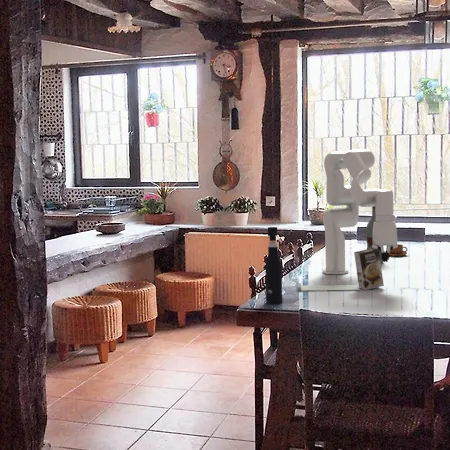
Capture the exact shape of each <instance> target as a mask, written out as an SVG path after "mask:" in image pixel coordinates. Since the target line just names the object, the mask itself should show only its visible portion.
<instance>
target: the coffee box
mask: <svg viewBox="0 0 450 450" xmlns="http://www.w3.org/2000/svg"><path fill="white" fill-rule="evenodd" d="M353 254H354V261H355V268H356V276H357V283H358V287H359V289H360V290H364V291H367V290H371V289H376V288H380V287H384V285H385V284H384V278H383V271H382V263H381V262H380V255H379V250H378V249H373V248H371V249H367V248H366V249H362V250H359V251H354V252H353Z"/></svg>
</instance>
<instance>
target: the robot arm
mask: <svg viewBox="0 0 450 450" xmlns="http://www.w3.org/2000/svg"><path fill="white" fill-rule="evenodd" d="M375 162H376V159H375V155H374V153H373V152H372V151H371V150H369V149H351V150H348V151H345V150H344V151H332V152H329V153H327V154H326V155H325V157H324V162H323V166H324V172H325V177H326V188H325V189H326V193H325V194H326V195H325V196H326V202H327V204H328V205H329V206H334V207H335V208H328V209H326V210H325V211H324V212H323V214H322V221H323V227H324V228H323V229H324V239H325V240H324V241H325V244H324V245H325V246H324V247H325V248H324V249H325V250H324V251H325V252H324V253H325V268H324V269H322V273H323V274H326V275H345V274H348V273H349V269H347V268H346V238H345V233H344V232H343V231H342V230H341V229H342V228H351V227H355V226H357V225H358V221H359V216H360V215H359V213H360V212H359V211H360V210H359V209H360V208H359V207H361V208H367V207H371V208H372V207H373V206H375V212H376V222H374V224H373V235H372V242H373V245H372V247H373V248H375V249H379V250H380V251H381V259H382V260H383V263H388V262H389V260H390V256H389V252H390V251H391V250H392V249H393V248H397V247H398V231H397V230H398V229H397V225H396V221H395V220H397V219H398V215H394V214H395V213H394V192H393V191H392V190H391V189H384V188H383V189H382V188H370V189H363V188H362V187H361V185H363V184H365V183H366V182H368V180H370V178H371V177H372V171H371V170H370V168H372V167H373V166H374V165H375ZM341 170H347V171H348V173H349V174H350V176H351V178H352V180H351V183H350V185H345V177H344V173H343V172H342V171H341ZM337 206H338V207H337ZM339 206H346V207H339ZM336 207H337V208H336ZM376 245H377V246H376ZM391 245H392V246H391ZM384 246H386V249H385V248H384Z"/></svg>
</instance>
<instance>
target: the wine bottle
mask: <svg viewBox="0 0 450 450" xmlns="http://www.w3.org/2000/svg"><path fill="white" fill-rule="evenodd" d="M267 236H268V237H269V242H268V247H267V252H268V254H267V257H266V260H265V265H264V266H265V267H264V268H265V272H264V273H265V274H264V275H265V303H266V304H269V305H278V304H279V305H280V304H282V303H283V278H282V268H283V267H282V262H281V258H280V255H279V248H278V247H279V246H277V245H278V243H277V237H278V227H277V226H269V227H267Z"/></svg>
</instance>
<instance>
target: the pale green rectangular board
mask: <svg viewBox="0 0 450 450" xmlns="http://www.w3.org/2000/svg"><path fill="white" fill-rule="evenodd" d="M327 290H360V291H361V288H359V284H358V285H357V284H341V285H340V284H337V285H336V284H335V285H332V284H331V285H302V283H301V282H298V283H297V291H298V292H328V291H327Z"/></svg>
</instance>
